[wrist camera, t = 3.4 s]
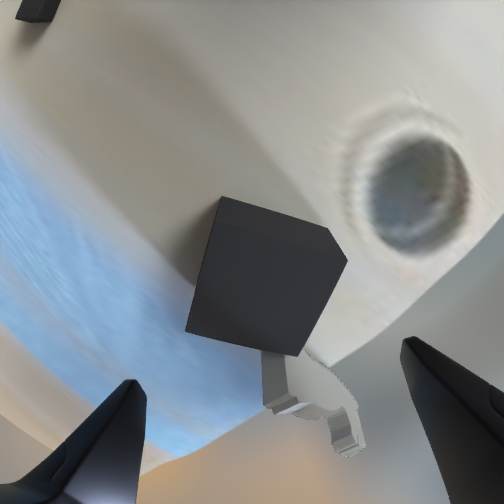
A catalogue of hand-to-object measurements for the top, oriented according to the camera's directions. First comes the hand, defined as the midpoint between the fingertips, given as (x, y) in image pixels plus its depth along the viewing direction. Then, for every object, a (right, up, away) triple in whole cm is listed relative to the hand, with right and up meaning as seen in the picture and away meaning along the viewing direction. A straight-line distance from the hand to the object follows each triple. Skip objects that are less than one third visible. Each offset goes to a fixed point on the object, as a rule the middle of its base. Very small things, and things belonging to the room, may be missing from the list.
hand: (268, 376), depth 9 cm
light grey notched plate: (+4, -4, +10) cm, 11 cm away
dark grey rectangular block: (0, +3, +6) cm, 7 cm away
